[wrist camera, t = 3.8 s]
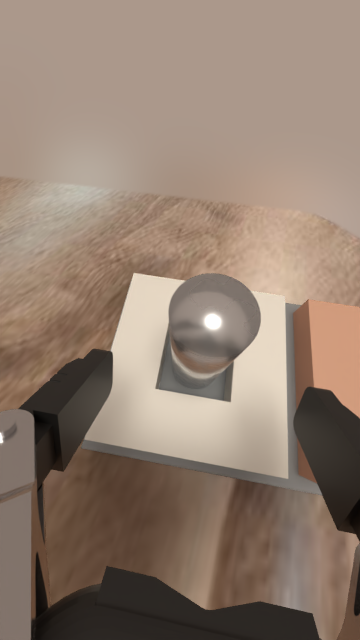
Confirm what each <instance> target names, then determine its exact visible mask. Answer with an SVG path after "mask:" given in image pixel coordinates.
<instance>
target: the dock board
mask: <svg viewBox="0 0 360 640" xmlns="http://www.w3.org/2000/svg"><path fill="white" fill-rule="evenodd" d="M184 282H185V281H183V280H176V279H170V278H163V277H157V276H150V275H143V274H137V273H134V275H133V278H132V280H131V283H130V286H129V290H128V293H127V296H126V300H125V303H124V306H123V310H122V313H121V316H120V320H119V323H118V326H117V330H116V333H115V336H114V340H113V343H112V346H111V350H110V351H111V352H112V353H113V384H112V389H111V392H110V395H109V397H108V399H107V400H106V402H105V404H104V405H103V407H102V409H101V410H100V412H99V414H98V415H97V417H96V418H95V420H94V422H93V423H92V425H91V427H90V428H89V430H88V432H87V433H86V435H85V437H84V440H83V443H82V446H81V448H83V449H88V450H93V451H98V452H103V453H109V454H114V455H119V456H124V457H129V458H134V459H139V460H144V461H149V462H154V463H160V464H165V465H170V466H175V467H180V468H185V469H190V470H195V471H200V472H205V473H211V474H216V475H221V476H226V477H231V478H236V479H241V480H246V481H251V482H256V483H262V484H267V485H272V486H277V487H282V488H287V489H292V490H297V491H302V492H307V493H313V494H318V495H322V493H321V491H320V489H319V486H318V484H317V482H316V479H315V477H314V475H313V473H312V470H311V468H310V466H309V463H308V461H307V459H306V457H305V454H304V452H303V450H302V447H301V445H300V443H299V441H298V438H297V436H296V434H295V431H294V426H293V420H294V415H295V413H296V410H297V408H298V406H299V403H300V401H301V398H302V396H303V394H304V391H305V389H306V388H307V387H316V388H321V389H327V390H331V391H332V392H333V393H334V394H335V396H336V397H337V398H338V399H339V401H340V402H341V403H342V405H343V406H345V407H347V408H348V409H349V410H350V411H352V412H353V413H354V414H355V415H357V416H358V417H359V418H360V307H355V306H348V305H342V304H335V303H329V302H322V301H315V300H309V299H308V300H307V301H306V302H305V303H304V304H303V305H296V304H290V303H285V296H282V295H276V294H269V293H262V292H256V291H251V292H252V294H253V295H254V297H255V298H256V300H257V302H258V305H259V308H260V313H261V324H260V328H259V332H258V334H257V336H256V338H255V339H254V341H253V342H252V343H251V344H250V345H249V346H248V347H247V348H246V349H245V350H244V351H243V352H242V353H241V354H240V355H239V356H238V357H237V358H236V359H235V360H234V361H233V362H232V363H231V364H230V365H229V366H228V367H227V368H226V369H225V370H224V371H223V372H222V373H221V374H220V375H219V376H218V377H217V378H216V379H215V380H214V381H213V382H212V383H211V384H209V385H208V386H206V387H204V388H201V389H191V388H187V387H185V386H183V385H182V384H181V383H180V382H179V381H178V380H177V379H176V377H175V375H174V372H173V366H172V353H171V341H170V328H169V315H168V310H169V304H170V300H171V298H172V296H173V294H174V292H175V291H176V290H177V288H178V287H179V286H180V285H181V284H182V283H184Z"/></svg>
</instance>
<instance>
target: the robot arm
mask: <svg viewBox="0 0 360 640" xmlns="http://www.w3.org/2000/svg"><path fill="white" fill-rule="evenodd" d="M112 384H113V353H112V352H111V351H105V350H99V349H92V350H91V351H90V352H89V353H88V354H87V355H86V356H85V357H84V358H83V359H80V358H78V359H76V360H74V361H72V362H70V363H68V364H66V365H65V366H64V367H63V368H62V369H60V370H59V371H58V372H57V374H55V375H54V376H53V377H52V378H51V379H50V381H48V382H47V383H45V384H44V385H43V386H42V387H41V388H40V389H39V390H38V391H37V392H36V393H35V394H34V395H33V396H31V397H30V398H29V399H28V400H27V401H26V402H25V403H24V404H23V405H22V406H21V407H20V408H19V409H12V410H6V411H2V412H0V640H321V639H320V638H319V635H318V632H317V628H316V625H315V621H314V617H313V614H312V613H308V612H303V611H299V610H295V609H290V608H286V607H282V606H277V605H273V604H269V603H264V602H254V603H249V604H243V605H238V606H232V607H227V608H222V609H216V610H205V609H203V608H201V607H200V606H198V605H197V604H195V603H194V602H192V601H191V600H189V599H188V598H186V597H184V596H183V595H181V594H180V593H178V592H177V591H175V590H174V589H172V588H171V587H169V586H168V585H166V584H165V583H163V582H162V581H160V580H159V579H157V578H156V577H152V576H147V575H143V574H139V573H134V572H130V571H126V570H121V569H117V568H113V567H108V566H107V567H106V570H105V574H104V577H103V580H102V584H96V585H92V586H89V587H86V588H83V589H80V590H78V591H76V592H74V593H72V594H70V595H68V596H66V597H64V598H63V599H61V600H60V601H58V602H57V603H55V604H54V605H52V606H51V602H50V584H49V571H48V561H47V546H46V523H45V498H44V482H43V481H44V479H45V478H46V476H47V475H48V473H49V472H50V470H51V469H53V470H57V471H62V472H64V470H65V468H66V467H67V465H68V463H69V462H70V460H71V458H72V457H73V455H74V453H75V452H76V450H77V448H78V447H79V445H80V443H81V442H82V440H83V438H84V437H85V435H86V433H87V432H88V430H89V428H90V427H91V425H92V423H93V422H94V420H95V418H96V417H97V415H98V414H99V412H100V410H101V409H102V407H103V405H104V404H105V402H106V400H107V399H108V397H109V395H110V392H111V389H112ZM293 426H294V431H295V434H296V436H297V438H298V441H299V443H300V445H301V447H302V450H303V452H304V454H305V457H306V459H307V461H308V463H309V466H310V468H311V470H312V473H313V475H314V477H315V479H316V482H317V484H318V486H319V489H320V491H321V493H322V495H323V498H324V500H325V502H326V505H327V507H328V509H329V511H330V514H331V516H332V518H333V521H334V523H335V525H336V527H337V530H339V531H344V532H349V533H353V534H356V535H357V537H358V539H359V541H360V418H359V417H358V416H357V415H355V414H354V413H353V412H352V411H350V410H349V409H348V408H347V407H345V406H343V405H342V403H341V402H340V401H339V399H338V398H337V397H336V396H335V394H334V393H333V392H332V391H331V390H327V389H321V388H316V387H307V388H306V389H305V391H304V394H303V396H302V398H301V401H300V403H299V406H298V408H297V410H296V413H295V415H294V420H293ZM337 640H360V543H359V544H358V546H357V547H356V550H355V555H354V562H353V568H352V575H351V581H350V588H349V594H348V600H347V607H346V613H345V619H344V623H343V626H342V629H341V631H340V633H339V635H338V637H337Z"/></svg>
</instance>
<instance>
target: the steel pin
mask: <svg viewBox="0 0 360 640" xmlns="http://www.w3.org/2000/svg"><path fill="white" fill-rule="evenodd" d="M168 315H169V328H170V341H171V353H172V366H173V372H174V375H175V377H176V379H177V380H178V381H179V382H180V383H181V384H182V385H183V386H185V387H187V388H191V389H201V388H204V387H206V386H208V385H209V384H211V383H212V382H213V381H214V380H215V379H216V378H217V377H218V376H219V375H220V374H221V373H222V372H223V371H224V370H225V369H226V368H227V367H228V366H229V365H230V364H231V363H232V362H233V361H234V360H235V359H236V358H237V357H238V356H239V355H240V354H241V353H242V352H243V351H244V350H245V349H246V348H247V347H248V346H249V345H250V344H251V343H252V342H253V341H254V339H255V338H256V336H257V334H258V332H259V328H260V324H261V313H260V308H259V305H258V302H257V300H256V298H255V297H254V295H253V294H252V292H251V291H250V290H249V289H248V288H247V287H246V286H245V285H244V284H242V283H241V282H239V281H238V280H236V279H234V278H232V277H229V276H226V275H222V274H214V273H211V274H201V275H197V276H195V277H192V278H190V279H188V280H187V281H185V282H184V283H182V284H181V285H180V286H179V287H178V288H177V290H176V291H175V292H174V294H173V296H172V298H171V300H170V304H169V310H168Z"/></svg>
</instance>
